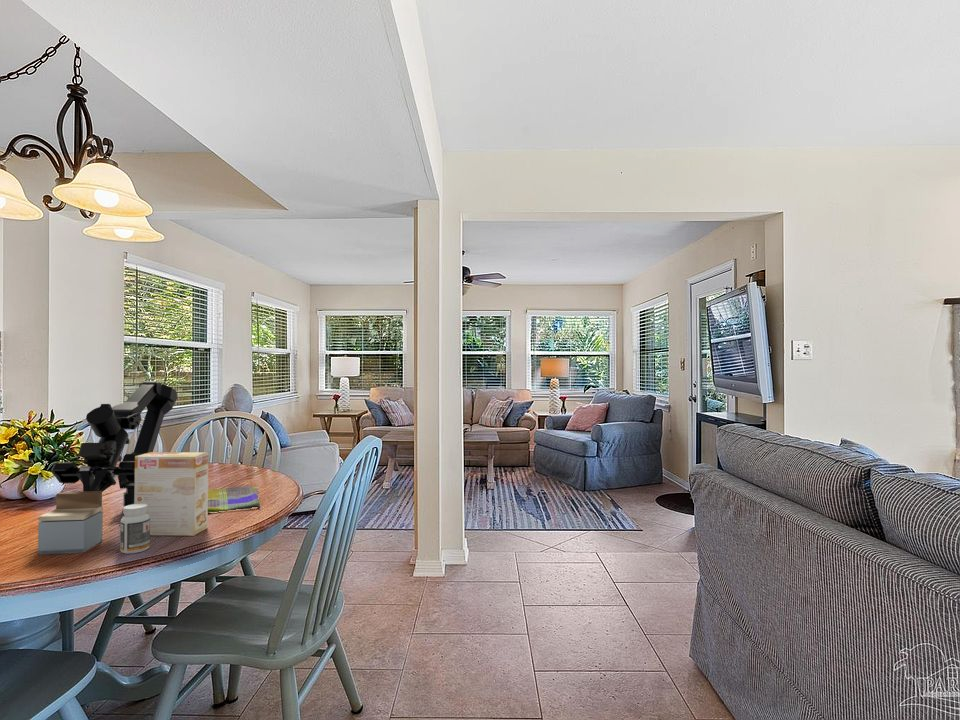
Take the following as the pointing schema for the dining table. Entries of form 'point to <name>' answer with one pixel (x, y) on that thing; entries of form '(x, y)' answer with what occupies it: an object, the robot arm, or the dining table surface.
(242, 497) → the dish towel
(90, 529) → the slate box
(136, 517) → the pill bottle
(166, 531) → the coffeecake box
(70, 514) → the birch lid
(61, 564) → the dining table surface
